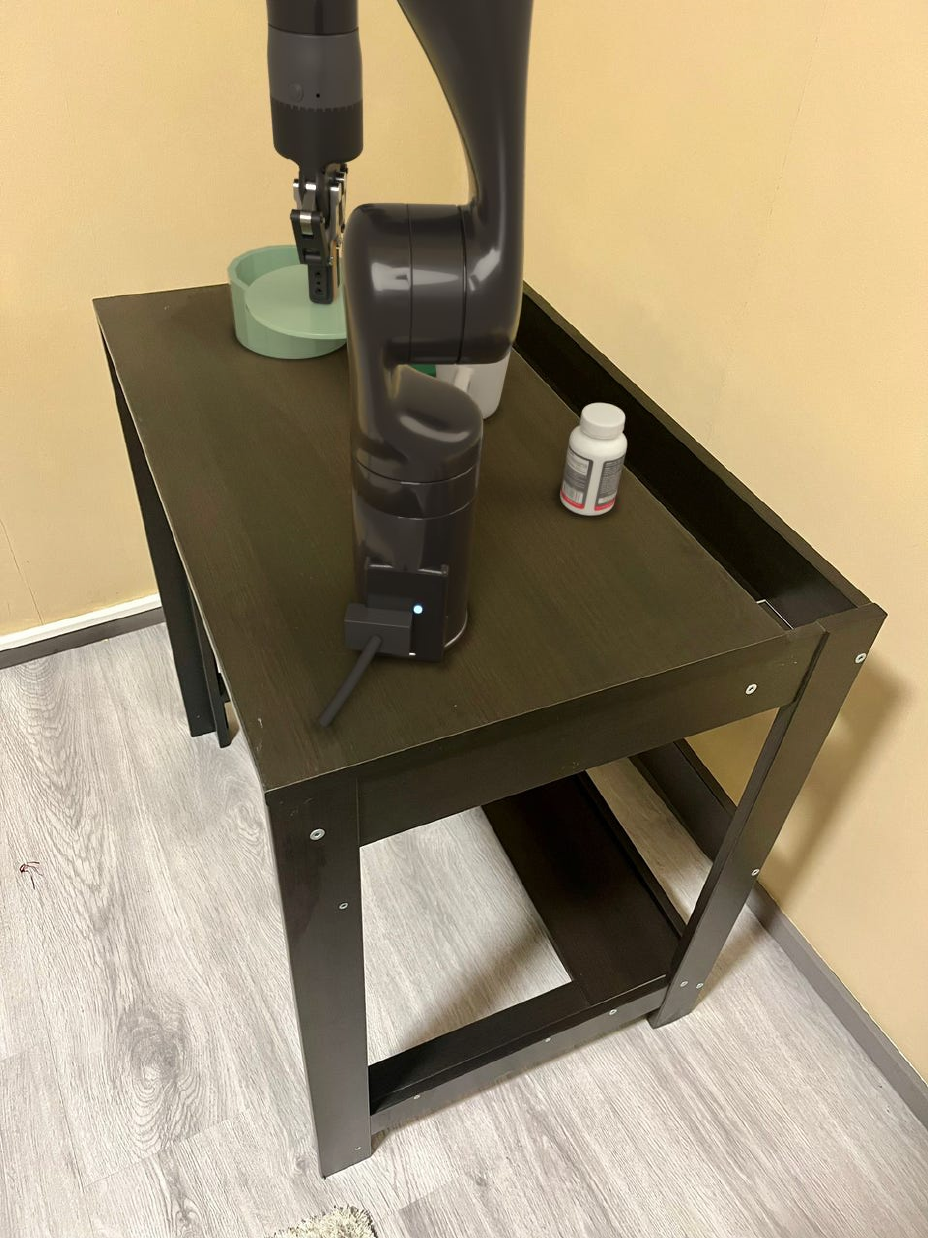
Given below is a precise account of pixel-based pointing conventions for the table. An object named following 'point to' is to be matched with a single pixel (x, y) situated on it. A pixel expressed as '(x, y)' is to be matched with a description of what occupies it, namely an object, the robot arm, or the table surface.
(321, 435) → the table surface
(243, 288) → the pot
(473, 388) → the cup
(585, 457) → the pill bottle
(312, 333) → the lid
